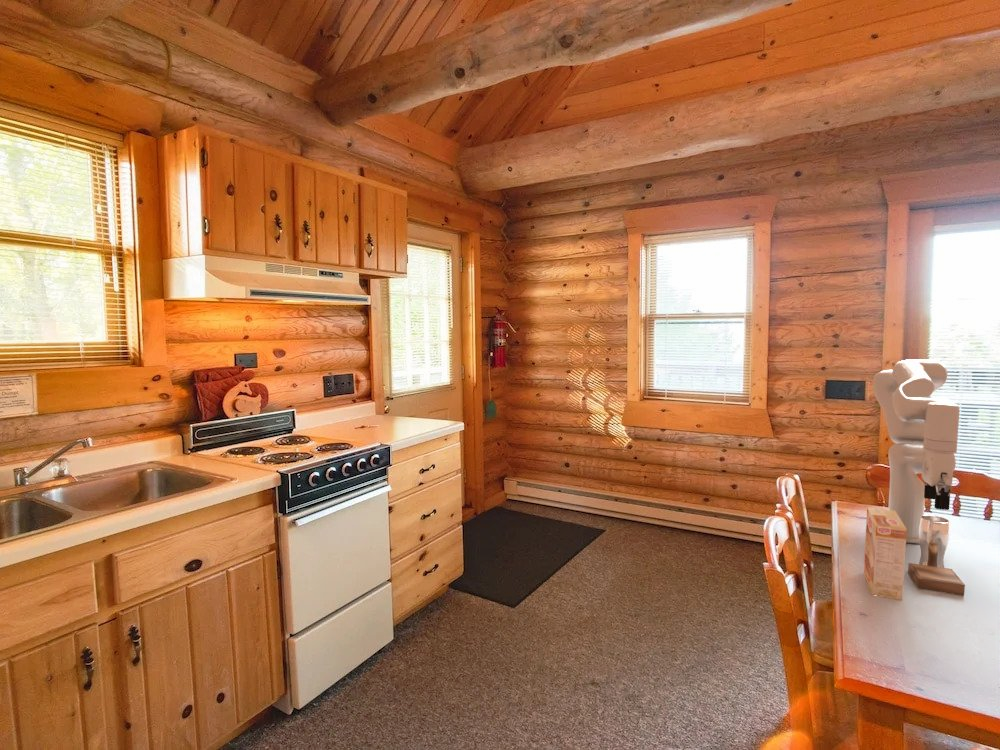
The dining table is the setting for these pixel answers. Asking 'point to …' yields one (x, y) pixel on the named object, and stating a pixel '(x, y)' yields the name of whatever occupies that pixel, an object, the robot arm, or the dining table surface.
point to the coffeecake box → (885, 553)
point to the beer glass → (933, 540)
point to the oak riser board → (936, 579)
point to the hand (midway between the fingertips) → (936, 503)
